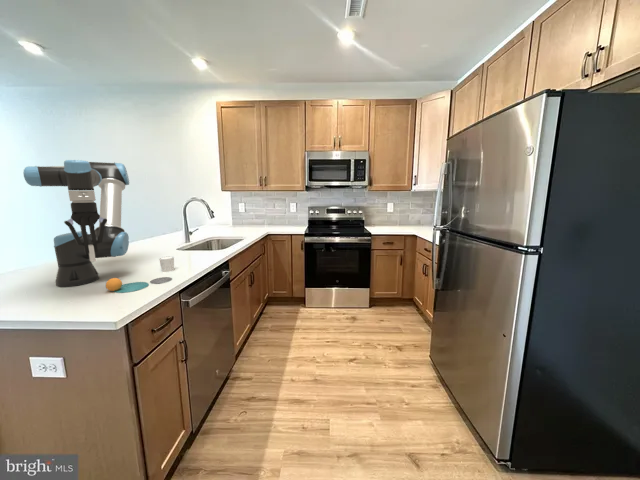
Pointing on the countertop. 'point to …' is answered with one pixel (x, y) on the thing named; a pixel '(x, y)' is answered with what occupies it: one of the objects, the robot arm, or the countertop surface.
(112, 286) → the ball
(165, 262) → the shot glass
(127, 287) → the disc
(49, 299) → the countertop surface
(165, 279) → the disc
